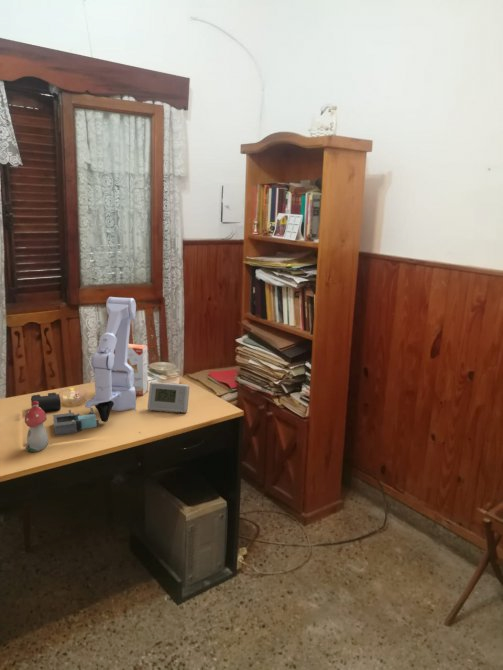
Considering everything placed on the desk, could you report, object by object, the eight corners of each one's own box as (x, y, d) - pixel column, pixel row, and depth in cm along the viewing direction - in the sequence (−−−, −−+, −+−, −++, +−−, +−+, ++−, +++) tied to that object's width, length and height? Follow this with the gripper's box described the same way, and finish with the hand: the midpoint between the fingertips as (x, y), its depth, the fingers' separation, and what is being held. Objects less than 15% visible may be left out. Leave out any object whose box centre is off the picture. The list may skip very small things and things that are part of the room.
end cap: (33, 417, 194) (31, 400, 192) (30, 410, 200) (29, 394, 198) (61, 413, 198) (60, 396, 197) (58, 406, 204) (57, 390, 203)
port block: (79, 423, 190) (79, 410, 189) (82, 434, 181) (81, 421, 180) (53, 426, 186) (53, 413, 185) (55, 438, 177) (54, 424, 176)
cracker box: (111, 393, 221) (110, 345, 216) (117, 388, 227) (116, 341, 222) (143, 396, 219) (142, 348, 214) (148, 391, 225) (147, 344, 220)
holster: (92, 412, 200) (92, 406, 199) (95, 420, 193) (94, 413, 193) (68, 415, 196) (67, 409, 195) (69, 423, 190) (69, 416, 189)
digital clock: (145, 410, 204) (144, 384, 202) (156, 402, 213) (156, 377, 210) (182, 417, 199) (182, 390, 197) (192, 408, 208) (193, 383, 205)
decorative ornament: (33, 440, 175) (30, 398, 172) (52, 441, 175) (50, 399, 172) (21, 453, 166) (18, 409, 163) (41, 454, 166) (39, 410, 163)
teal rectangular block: (98, 425, 189) (97, 413, 188) (99, 429, 186) (98, 417, 185) (78, 427, 187) (77, 415, 186) (79, 431, 184) (78, 419, 182)
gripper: (112, 377, 193) (113, 412, 196) (79, 387, 181) (80, 423, 185) (125, 382, 189) (125, 417, 192) (91, 392, 177) (93, 429, 181)
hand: (104, 420), depth 188 cm, fingers closed
